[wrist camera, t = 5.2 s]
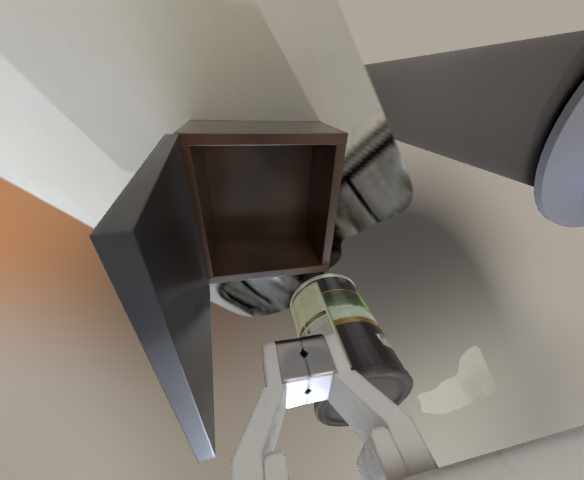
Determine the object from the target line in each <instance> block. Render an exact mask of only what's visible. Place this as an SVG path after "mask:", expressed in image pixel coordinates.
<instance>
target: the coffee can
mask: <svg viewBox="0 0 584 480" xmlns="http://www.w3.org/2000/svg"><path fill="white" fill-rule="evenodd" d="M290 309H291V312H292V315H293V319H294V323H295V327H296V331H297V335H298V338H300V337H306V336H311V335H317V334H325V333H330V332H334V333H335V334H336V335H337V337H338V340H339V342H340V344H341V347H342V349H343V352H344V354H345V356H346V359H347V361H348V363H349V366H350V368H351V370H356V371H357V372H358V373H359V374H361V375H362V376H363V377H364V378H365V379H366V380H368V381H369V382H370V383H371V384H372V385H374V386H375V387H376V388H377V389H378V390H379V391H381V392H382V393H383V394H384V395H385V396H387V397H388V398H389V399H390V400H391V401H393V402H394V403H395V404H396V405H397V406H398V405H399V404H400V403H401V402H402V401H403V400H404V399H405V398H406V397H407V396H408V395H409V393H410V392H411V390H412V387H413V380H412V378H411V376H410V375H409V373H408V372H407V371H406V370H405V369H404V367H403V365H402V364H401V362H400V361H399V359H398V358H397V355H396V354H395V352H394V350H393V349H392V347H391V345H390V344H389V342H388V340H387V339H386V337H385V336H384V334H383V332H382V330H381V329H380V327H379V325H378V324H377V322H376V320H375V319H374V317H373V316H372V314H371V312H370V310H369V309H368V307H367V305H366V304H365V302H364V300H363V299H362V297H361V295H360V294H359V292H358V290H357V288H356V286H355V284H354V283H353V281H352V280H351V279H350V278H348V277H346V276H344V275H341V274H335V273H327V274H321V275H318V276H315V277H313V278H310V279H309V280H307V281H305V282H304V283H302V284H301V285H300V286H299V287H298V288H297V289H296V291H295V292H294V293H293V295H292V298H291V301H290ZM314 409H315V414H316V417H317V419H318V421H320V422H321V423H323V424H326V425H330V426H349V425H348V423H347V422H346V421H345V420H344V419H343V418H342V416H341V415H340V414H339V413H338V412H337V411H336V410H335V408H334V407H333V406H332V405H331V404H330V403H329V401H328V400H324V401H318V402H314Z"/></svg>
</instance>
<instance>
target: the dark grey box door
mask: <svg viewBox="0 0 584 480" xmlns="http://www.w3.org/2000/svg"><path fill="white" fill-rule="evenodd" d="M90 239H91V241H92V243H93V245H94V247H95V249H96V251H97V254H98V255H99V258H100V260H101V262H102V264H103V266H104V268H105V270H106V272H107V274H108V276H109V278H110V281H111V283H112V285H113V286H114V289H115V291H116V293H117V295H118V297H119V299H120V301H121V303H122V305H123V308H124V310H125V312H126V314H127V316H128V318H129V320H130V322H131V324H132V326H133V328H134V330H135V332H136V334H137V336H138V339H139V341H140V343H141V345H142V347H143V349H144V351H145V353H146V355H147V357H148V359H149V361H150V363H151V365H152V367H153V370H154V372H155V374H156V376H157V378H158V380H159V382H160V384H161V386H162V388H163V390H164V392H165V394H166V397H167V399H168V401H169V403H170V405H171V407H172V409H173V411H174V413H175V415H176V417H177V419H178V421H179V423H180V426H181V428H182V430H183V432H184V434H185V436H186V438H187V440H188V442H189V444H190V446H191V448H192V451H193V453H194V455H195V457H196V459H197V461H198V463H200V462H202V461H205V460H208V459H211V458H214V457H215V429H214V400H213V372H212V345H211V315H210V287H209V282H208V277H207V272H206V267H205V262H204V257H203V252H202V248H201V243H200V238H199V233H198V228H197V223H196V218H195V213H194V208H193V203H192V198H191V193H190V188H189V183H188V178H187V173H186V168H185V163H184V158H183V153H182V148H181V143H180V138H179V134H165V135H164V136H163V137H162V139H161V140H160V141H159V143H158V144H157V145H156V147H155V148H154V149H153V151H152V152H151V154H150V155H149V156H148V158H147V159H146V160H145V162H144V163H143V164H142V166H141V167H140V168H139V170H138V171H137V172H136V174H135V175H134V176H133V178H132V179H131V180H130V182H129V183H128V184H127V186H126V187H125V188H124V190H123V191H122V192H121V194H120V195H119V196H118V198H117V199H116V200H115V202H114V203H113V204H112V206H111V207H110V208H109V210H108V211H107V212H106V214H105V215H104V216H103V218H102V219H101V220H100V222H99V223H98V225H97V226H96V227H95V229H94V230H93V231H92V233H91V234H90Z"/></svg>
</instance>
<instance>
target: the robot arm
mask: <svg viewBox="0 0 584 480" xmlns="http://www.w3.org/2000/svg"><path fill="white" fill-rule="evenodd" d="M262 357H263V372H264V381H265V387H263V388H262V390H261V393H260V395H259V397H258V400H257V402H256V404H255V406H254V409H253V411H252V413H251V416H250V418H249V420H248V423H247V425H246V427H245V429H244V432H243V434H242V436H241V438H240V441H239V443H238V445H237V448H236V450H235V452H234V455H233V457H232V459H231V470H230V473H231V476H230V480H289V473H288V467H287V461H286V455H285V454H284V453H283V452H281V451H277V452H273V450H274V447H275V443H276V440H277V437H278V434H279V431H280V427H281V424H282V421H283V418H284V414H285V411H286V409H287V408H291V407H295V406H299V405H303V404H307V403H312V402H318V401H324V400H328V401H329V403H330V404H331V405H332V406H333V407H334V408H335V410H336V411H337V412H338V413H339V414H340V415H341V416H342V418H343V419H344V420H345V421H346V422H347V423H348V425H349V426H350V427H351V428H352V429H353V430H354V431H355V433H356V434H357V435H358V436H359V437H360V439H361V440H362V441H363V442H364V443H365V444H364V446H363V448H362V450H361V453H360V455H359V457H358V459H357V465H358V467H359V471H360V474H361V477H362V480H584V425H583V426H580V427H576V428H573V429H569V430H566V431H563V432H560V433H556V434H552V435H549V436H546V437H542V438H539V439H535V440H532V441H529V442H526V443H522V444H518V445H515V446H512V447H508V448H505V449H501V450H498V451H495V452H491V453H488V454H485V455H481V456H478V457H474V458H471V459H467V460H464V461H460V462H457V463H454V464H451V465H447V466H443V467H440V468H438V466H437V464H436V462H435V460H434V459H433V457H432V455H431V453H430V451H429V449H428V447H427V445H426V444H425V442H424V440H423V438H422V436H421V434H420V432H419V431H418V429H417V427H416V425H415V423H414V421H413V419H412V418H411V417H410V416H409V415H408V414H407V413H405V412H404V411H403V410H402V409H401V408H399V407H398V406H397V405H396V404H395V403H394V402H393V401H391V400H390V399H389V398H388V397H387V396H385V395H384V394H383V393H382V392H381V391H379V390H378V389H377V388H376V387H375V386H374V385H372V384H371V383H370V382H369V381H368V380H366V379H365V378H364V377H363V376H362V375H361V374H359V373H358V372H357V371H356V370H351V368H350V366H349V363H348V361H347V359H346V356H345V354H344V352H343V349H342V347H341V344H340V342H339V340H338V337H337V335H336V334H335V333H334V332H330V333H325V334H317V335H311V336H306V337H300V338H296V339H289V340H282V341H276V342H268V343H263V344H262Z"/></svg>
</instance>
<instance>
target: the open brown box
mask: <svg viewBox="0 0 584 480" xmlns="http://www.w3.org/2000/svg"><path fill="white" fill-rule="evenodd" d="M174 134H179V138H180V143H181V148H182V153H183V158H184V163H185V168H186V173H187V178H188V183H189V188H190V193H191V198H192V203H193V208H194V213H195V218H196V223H197V228H198V233H199V238H200V243H201V248H202V252H203V257H204V262H205V267H206V272H207V277H208V282H209V284H214V283H223V282H232V281H242V280H251V279H261V278H270V277H279V276H289V275H298V274H307V273H317V272H326V271H328V270H329V263H330V256H331V249H332V242H333V235H334V228H335V221H336V214H337V206H338V199H339V192H340V185H341V178H342V171H343V164H344V157H345V150H346V143H347V136H348V133H346V132H344V131H341V130H339V129H337V128H334V127H332V126H330V125H327V124H325V123H322V122H320V121H234V120H190V121H189V122H187V123H186V124H185V125H183V126H182V127H181V128H180V129H178V130H177V131H176V132H175V133H174Z"/></svg>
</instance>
